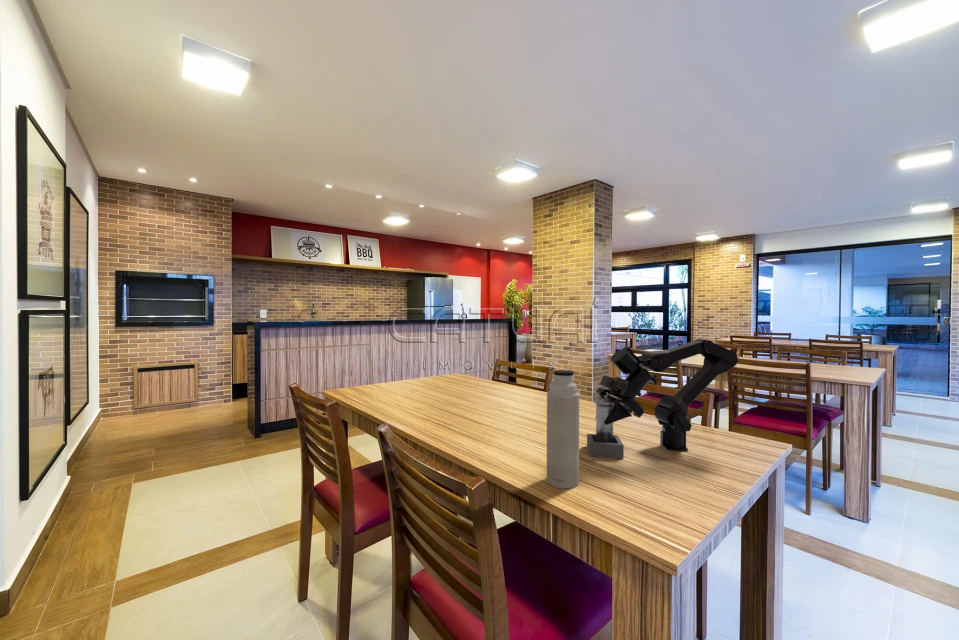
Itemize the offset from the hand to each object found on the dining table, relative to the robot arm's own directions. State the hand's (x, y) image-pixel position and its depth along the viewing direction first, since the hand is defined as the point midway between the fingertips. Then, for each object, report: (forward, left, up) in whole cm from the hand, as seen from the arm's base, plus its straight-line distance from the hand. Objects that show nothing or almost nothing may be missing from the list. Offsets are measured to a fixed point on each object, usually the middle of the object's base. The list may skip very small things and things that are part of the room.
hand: (600, 421), depth 116 cm
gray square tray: (-1, 0, -9) cm, 10 cm away
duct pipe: (-1, 0, -7) cm, 7 cm away
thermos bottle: (+12, +23, -10) cm, 28 cm away
